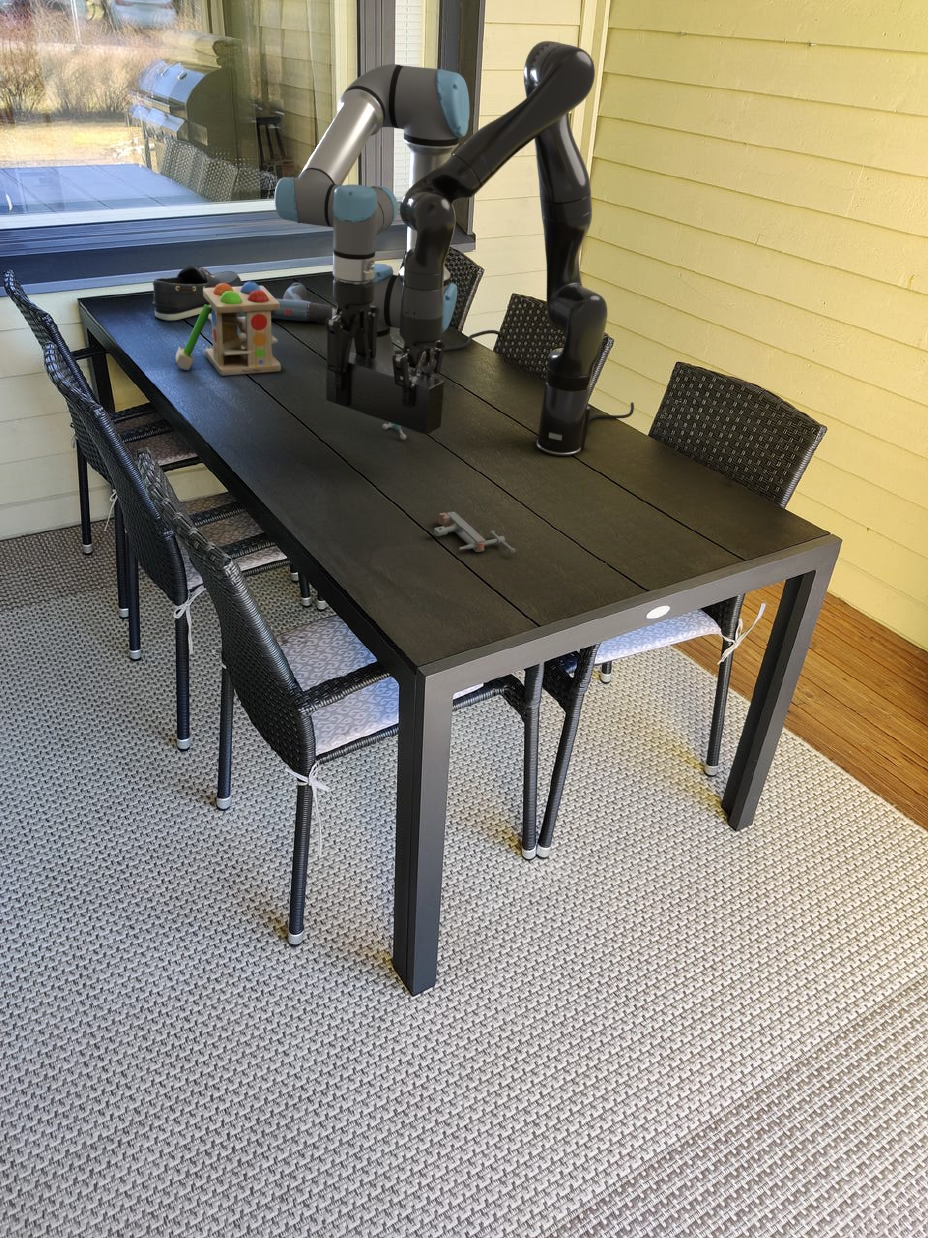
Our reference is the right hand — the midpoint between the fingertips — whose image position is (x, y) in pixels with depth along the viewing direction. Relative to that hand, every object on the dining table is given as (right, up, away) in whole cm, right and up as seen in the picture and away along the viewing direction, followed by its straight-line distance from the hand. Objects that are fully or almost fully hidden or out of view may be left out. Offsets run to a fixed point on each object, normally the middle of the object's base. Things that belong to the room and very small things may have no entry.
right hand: (416, 401), depth 183 cm
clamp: (+10, -27, -12) cm, 31 cm away
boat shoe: (-63, +44, +82) cm, 113 cm away
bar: (-7, -1, +6) cm, 9 cm away
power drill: (-34, +43, +84) cm, 101 cm away
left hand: (-13, +2, +8) cm, 16 cm away
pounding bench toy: (-47, +19, +48) cm, 70 cm away
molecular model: (-5, -1, +25) cm, 25 cm away
